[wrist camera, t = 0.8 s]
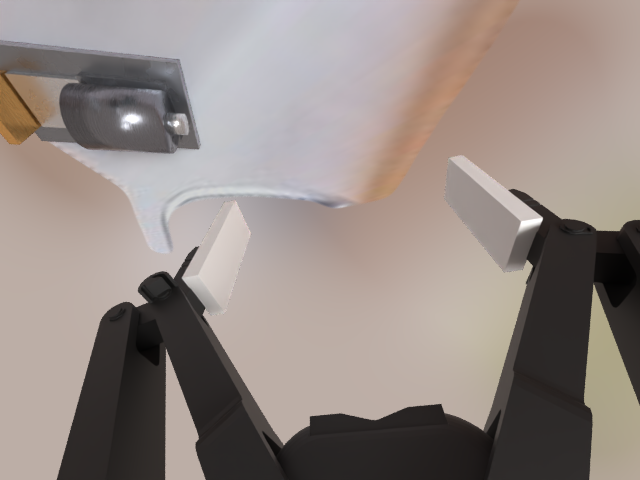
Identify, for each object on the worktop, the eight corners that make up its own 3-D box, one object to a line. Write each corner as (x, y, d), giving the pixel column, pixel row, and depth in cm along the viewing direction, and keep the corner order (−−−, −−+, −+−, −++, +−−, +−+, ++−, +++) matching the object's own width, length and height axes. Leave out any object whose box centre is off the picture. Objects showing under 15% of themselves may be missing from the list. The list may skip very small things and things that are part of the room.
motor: (-26, 37, 27) (-95, 64, 22) (181, 59, 30) (162, 87, 25) (46, 136, 35) (8, 172, 30) (202, 144, 39) (191, 178, 34)
